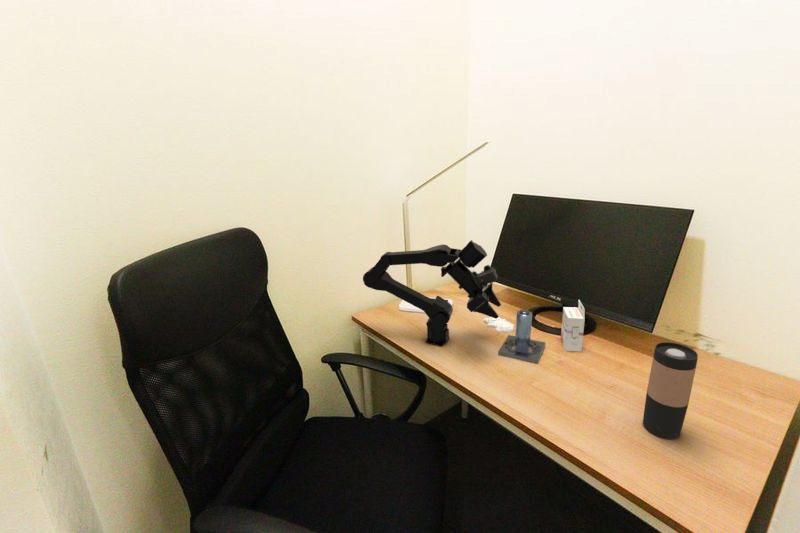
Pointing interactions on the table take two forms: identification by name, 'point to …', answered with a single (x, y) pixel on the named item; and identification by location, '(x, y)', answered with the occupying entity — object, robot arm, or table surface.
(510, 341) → the square metal washer
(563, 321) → the ink cartridge box
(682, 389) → the travel mug
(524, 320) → the thermos bottle
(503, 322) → the astronaut figurine
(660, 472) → the table surface
